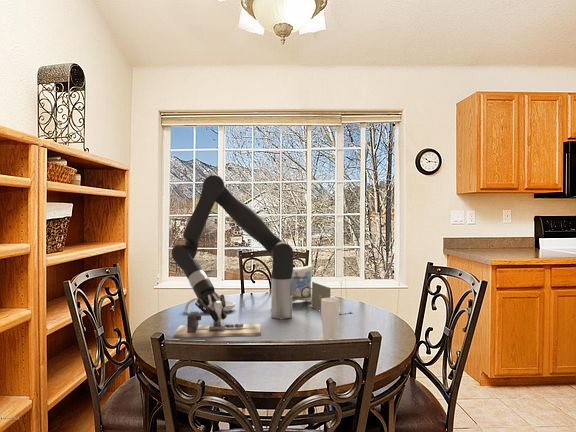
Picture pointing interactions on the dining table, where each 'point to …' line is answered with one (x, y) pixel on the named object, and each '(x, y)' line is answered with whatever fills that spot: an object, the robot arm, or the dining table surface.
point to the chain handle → (220, 319)
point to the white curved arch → (227, 308)
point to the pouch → (302, 283)
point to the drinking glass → (330, 317)
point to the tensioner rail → (203, 330)
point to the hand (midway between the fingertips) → (221, 319)
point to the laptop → (319, 295)
